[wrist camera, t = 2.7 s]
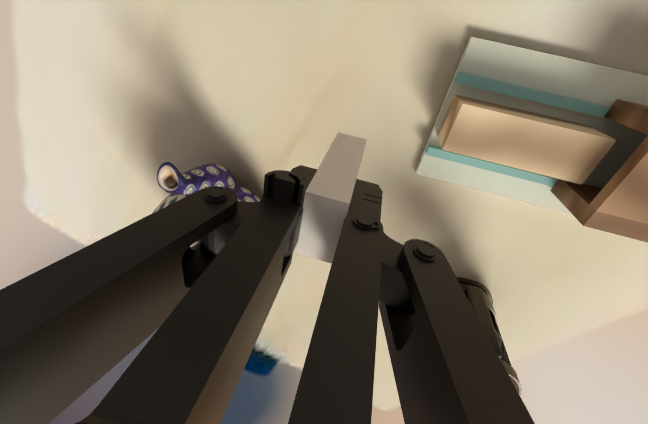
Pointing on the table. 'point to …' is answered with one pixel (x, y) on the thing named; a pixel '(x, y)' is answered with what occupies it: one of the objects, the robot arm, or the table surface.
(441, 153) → the railed board with endplate
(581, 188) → the block
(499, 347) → the french press
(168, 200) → the teapot
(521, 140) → the light wood bar
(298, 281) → the table surface
